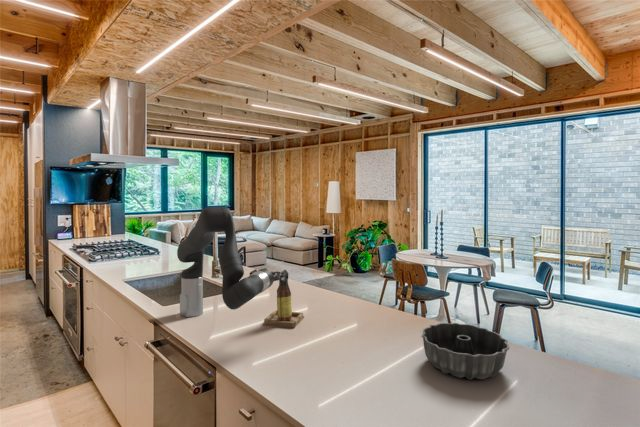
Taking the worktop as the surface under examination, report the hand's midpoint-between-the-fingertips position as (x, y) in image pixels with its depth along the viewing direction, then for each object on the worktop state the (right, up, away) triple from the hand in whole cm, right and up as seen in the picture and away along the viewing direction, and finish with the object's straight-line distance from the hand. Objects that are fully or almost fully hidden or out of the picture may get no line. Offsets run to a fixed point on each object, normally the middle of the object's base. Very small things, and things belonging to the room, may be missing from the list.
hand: (275, 271), depth 150 cm
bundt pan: (+65, -27, -29) cm, 76 cm away
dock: (+2, -24, +12) cm, 26 cm away
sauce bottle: (+2, -23, +11) cm, 26 cm away
